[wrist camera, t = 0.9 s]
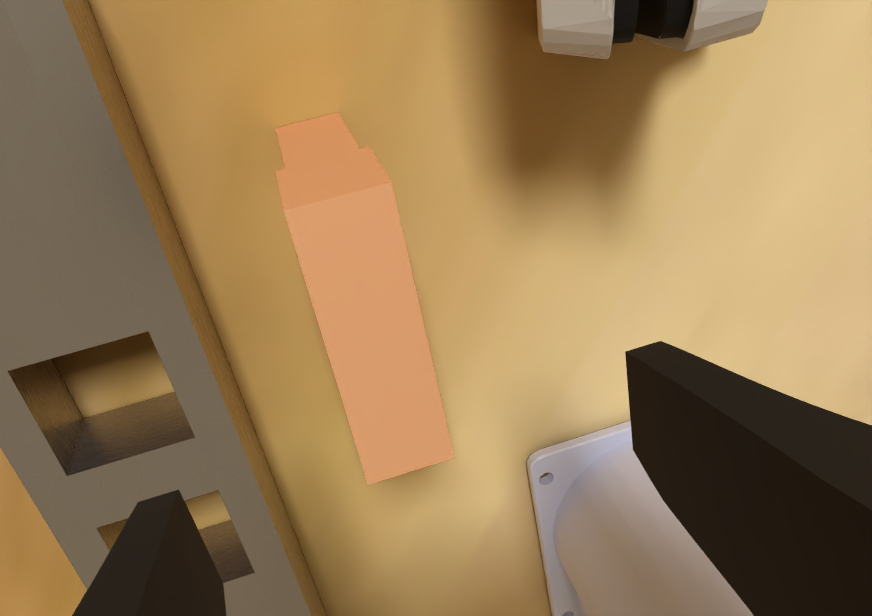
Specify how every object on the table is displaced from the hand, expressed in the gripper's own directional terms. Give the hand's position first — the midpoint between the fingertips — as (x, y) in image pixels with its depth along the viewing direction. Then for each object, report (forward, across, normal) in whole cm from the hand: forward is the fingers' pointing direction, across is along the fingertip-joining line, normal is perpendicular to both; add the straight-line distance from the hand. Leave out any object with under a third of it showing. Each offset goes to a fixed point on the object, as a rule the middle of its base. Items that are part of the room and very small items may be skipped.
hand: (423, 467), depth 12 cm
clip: (+10, 0, 0) cm, 10 cm away
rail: (+10, +6, +4) cm, 12 cm away
